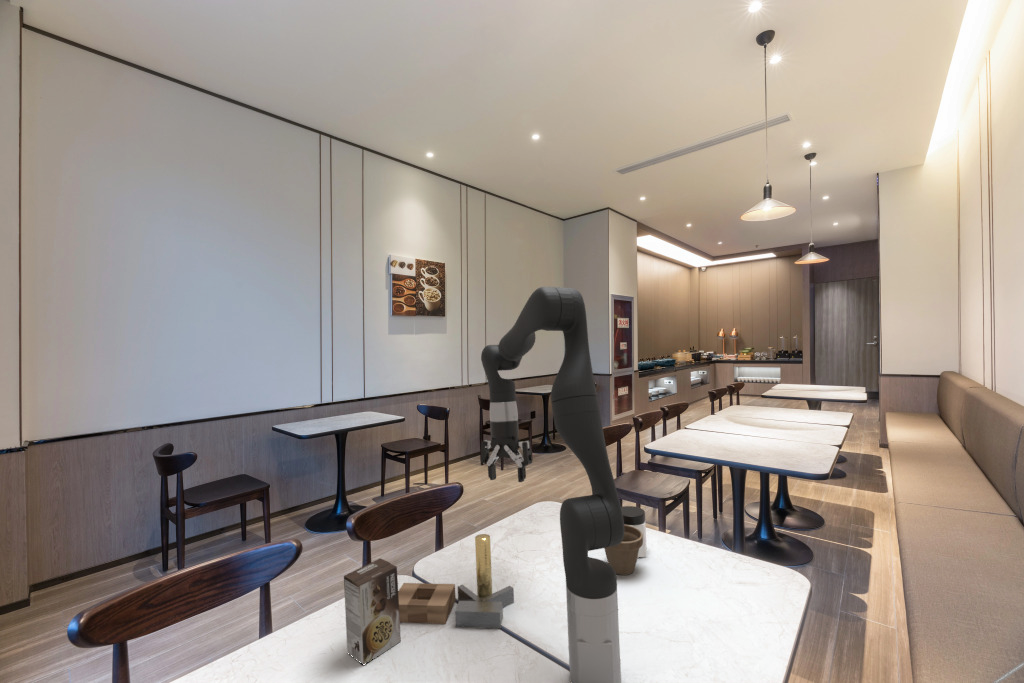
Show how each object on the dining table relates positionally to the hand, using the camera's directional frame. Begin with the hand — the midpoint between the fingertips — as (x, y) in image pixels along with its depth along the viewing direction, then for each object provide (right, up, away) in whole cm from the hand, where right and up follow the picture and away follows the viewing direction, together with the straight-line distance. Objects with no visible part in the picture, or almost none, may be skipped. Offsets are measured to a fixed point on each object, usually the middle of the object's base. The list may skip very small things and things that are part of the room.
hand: (507, 480), depth 117 cm
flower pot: (+31, -25, +2) cm, 40 cm away
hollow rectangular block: (-19, -27, -13) cm, 35 cm away
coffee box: (-27, -27, -25) cm, 46 cm away
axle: (-5, -26, -11) cm, 29 cm away
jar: (+36, -25, +12) cm, 45 cm away
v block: (-6, -26, -15) cm, 30 cm away
